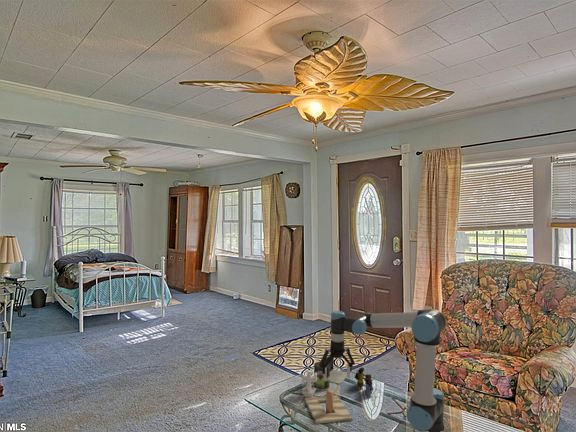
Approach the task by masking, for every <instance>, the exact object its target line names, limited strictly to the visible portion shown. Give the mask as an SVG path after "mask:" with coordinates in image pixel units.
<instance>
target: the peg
mask: <svg viewBox="0 0 576 432" xmlns="http://www.w3.org/2000/svg"><path fill="white" fill-rule="evenodd" d="M325 391H326V394H325V397H326V402H325V412H326V414H328V413H334V412H333V397H334V396H335V395H334V393H335V391H334V390H333V389H328V390H325Z"/></svg>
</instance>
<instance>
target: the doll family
mask: <svg viewBox="0 0 576 432" xmlns="http://www.w3.org/2000/svg"><path fill="white" fill-rule="evenodd" d="M364 371H365V368H364V367H360V368H359V369H358V370H357V372H355V375H353V377H354V379H356V380H357V383H356V385H357V387H356V388H357V389H358V390H359V391H361V390H364V388H363V387H365V396H366V398H367V397H372V396H371V394H373V393H372V392H373V391H374V388H373V385H374V384H373V381H374V379H373V378H372V375H371V374H364V373H363V372H364ZM364 382H365V384H364Z"/></svg>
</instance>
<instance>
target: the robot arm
mask: <svg viewBox="0 0 576 432" xmlns="http://www.w3.org/2000/svg"><path fill="white" fill-rule="evenodd" d="M330 314H331V316H330V347H329V348H330V349H327V348H325V349H324V352H323V355H322V357H321V360H320V361H319V362H320V363H319V366H320V367H321V368H322V373H323V374H324V380H325V381H327V368H326V366H327V365H328V364H329V363H330V361H331V360H332V359H333V358H334V359H336V358H341V357H342V358H343V359H344V361H345V363H346V373H347V377H346V378H347V379H348V380H349V379H351V373H352V370H353V368H352V367H353V366H354V365H356V363H355V360H354V358H353V356H352V354H351V349H350V348H349V346H348V347H345V332H347V333H351V334H355V335H361V336H363V335H364V334H365V333H366V331H367V329H373V328H374V329H375V328H393V329H394V328H401V329H402V328H411V333H412V335H413V341H414V343H416V354H415V371H414V373H415V374H414V391H413V393H411V394H410V401H409V407H408V408H407V410H406V418H407V421H408V423H409V424H410V425H411V426H412V427H413V428H414V430H415V429H417V430H419V431H429V432H440V431H443V430H444V428H445V429H446V427H445V424H444V415H445V413H444V411H445V394H444V392H443V391H442V390H440V389H438V388H435V373H436V358H437V357H436V356H437V347H439V346H440V344H441V333H442V332H443V331H444V330H445V328H446V324H447V321H446V317H445V315H444V314H443V313H442V312H441V311H440V310H438V309H434V308H429V309H427V308H426V309H418V310H417V311H413V312H410V311H409V312H388V313H387V312H381V313H379V312H378V313H371V312H364V313H361V314H360V315H357V316H355V317H353V318H352V317H348V316H346V314H345V312H344V311H342V310H334V311H332V312H331V313H330ZM329 353H330V354H329ZM345 353H346V354H347V356H348V358H349V359H348V358H347V357H346V355H344V354H345ZM328 356H329V357H328ZM327 357H328V358H327ZM326 358H327V360H326ZM325 360H326V361H325Z"/></svg>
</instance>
